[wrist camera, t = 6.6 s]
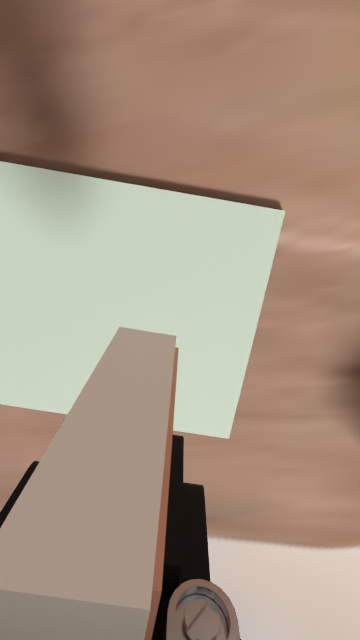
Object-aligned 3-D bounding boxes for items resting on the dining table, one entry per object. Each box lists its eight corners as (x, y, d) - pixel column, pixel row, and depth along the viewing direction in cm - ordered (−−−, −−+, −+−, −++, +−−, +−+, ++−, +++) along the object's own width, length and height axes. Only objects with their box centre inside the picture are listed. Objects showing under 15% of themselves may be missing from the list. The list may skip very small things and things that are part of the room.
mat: (-16, 159, 21) (-22, 157, 21) (282, 210, 22) (285, 210, 21) (-12, 397, 27) (-16, 401, 26) (227, 434, 27) (228, 438, 27)
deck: (119, 326, 12) (-34, 584, 4) (180, 336, 12) (162, 611, 4) (104, 459, 14) (-16, 821, 6) (157, 467, 14) (112, 835, 6)
